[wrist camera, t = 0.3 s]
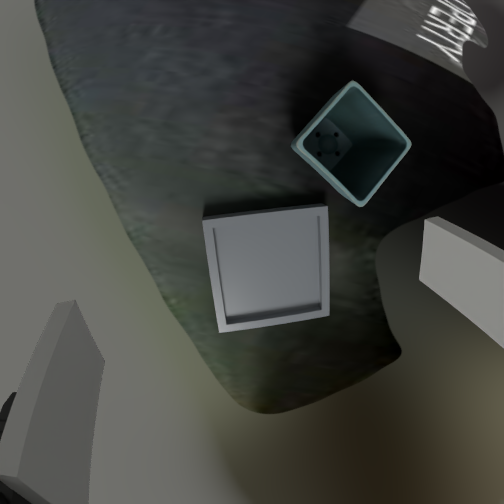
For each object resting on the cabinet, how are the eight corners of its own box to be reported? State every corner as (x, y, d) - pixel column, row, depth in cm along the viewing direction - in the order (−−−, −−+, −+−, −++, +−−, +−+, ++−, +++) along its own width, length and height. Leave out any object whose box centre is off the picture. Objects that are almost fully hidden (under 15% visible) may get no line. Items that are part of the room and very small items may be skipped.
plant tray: (202, 216, 36) (202, 220, 34) (321, 203, 37) (327, 206, 35) (218, 324, 40) (219, 332, 38) (324, 308, 42) (329, 315, 40)
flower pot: (273, 146, 35) (293, 144, 26) (321, 92, 33) (353, 77, 25) (328, 196, 37) (361, 209, 29) (372, 143, 36) (413, 144, 27)
